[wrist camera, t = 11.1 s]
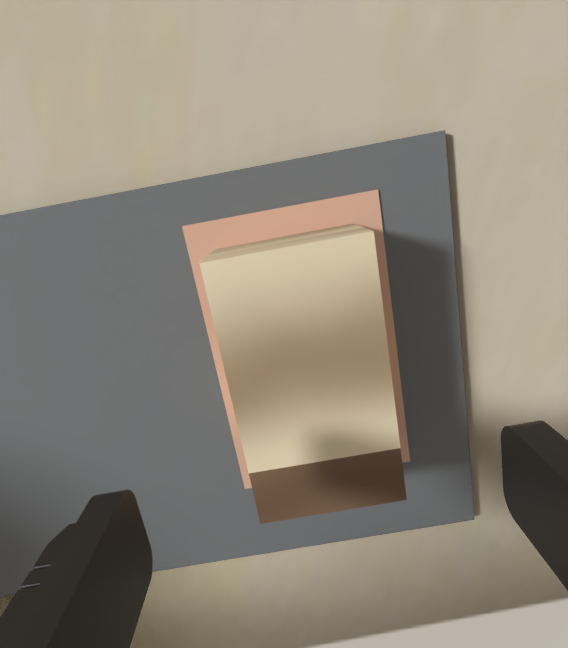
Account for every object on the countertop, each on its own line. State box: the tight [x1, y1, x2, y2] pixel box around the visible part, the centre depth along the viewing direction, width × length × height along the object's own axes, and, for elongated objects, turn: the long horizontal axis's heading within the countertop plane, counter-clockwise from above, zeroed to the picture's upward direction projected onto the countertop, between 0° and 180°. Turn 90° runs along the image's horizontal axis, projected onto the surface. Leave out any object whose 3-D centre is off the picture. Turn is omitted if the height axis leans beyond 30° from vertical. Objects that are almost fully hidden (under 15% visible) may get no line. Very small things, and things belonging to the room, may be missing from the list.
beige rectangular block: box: [199, 224, 407, 524], centre depth 16 cm, size 9×5×4 cm, turn 10°
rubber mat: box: [0, 130, 474, 596], centre depth 18 cm, size 24×16×1 cm, turn 100°
